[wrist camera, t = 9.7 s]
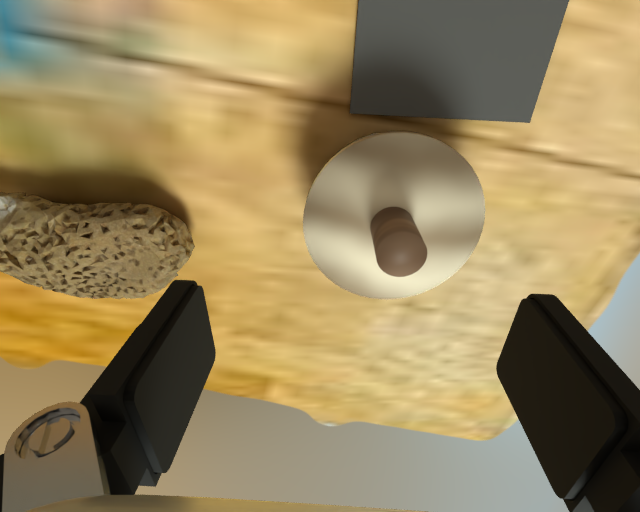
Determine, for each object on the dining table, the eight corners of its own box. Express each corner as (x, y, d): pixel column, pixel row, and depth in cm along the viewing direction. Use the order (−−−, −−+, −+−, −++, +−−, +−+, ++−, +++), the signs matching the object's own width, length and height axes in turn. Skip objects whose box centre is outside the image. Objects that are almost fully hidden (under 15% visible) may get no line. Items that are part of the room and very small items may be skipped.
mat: (369, -141, 23) (370, -144, 23) (608, -131, 23) (612, -135, 23) (349, 112, 31) (349, 113, 31) (527, 122, 31) (529, 122, 30)
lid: (305, 126, 26) (297, 141, 21) (503, 136, 26) (546, 153, 21) (302, 288, 33) (296, 329, 28) (457, 297, 33) (479, 341, 28)
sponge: (39, 257, 42) (184, 321, 40) (-36, 277, 35) (138, 356, 33) (50, 152, 38) (211, 218, 36) (-32, 148, 31) (166, 232, 29)
